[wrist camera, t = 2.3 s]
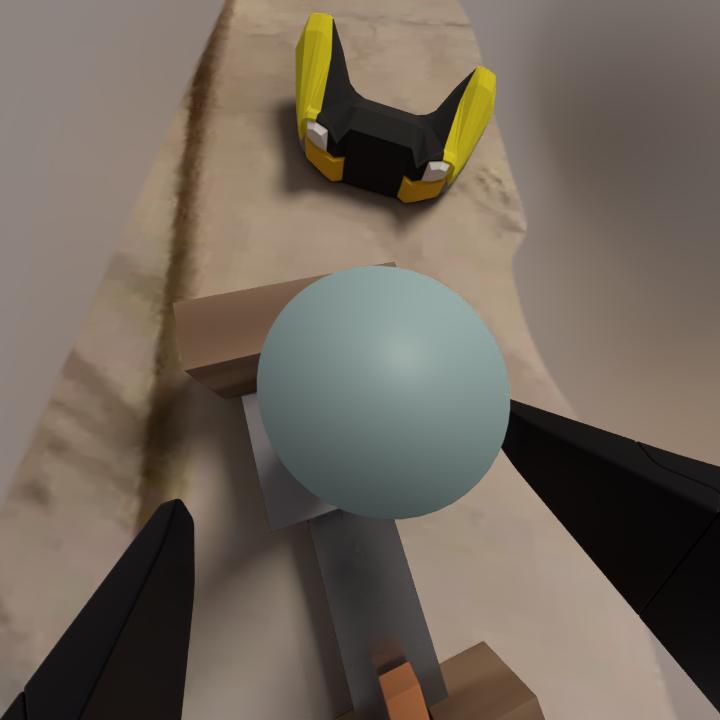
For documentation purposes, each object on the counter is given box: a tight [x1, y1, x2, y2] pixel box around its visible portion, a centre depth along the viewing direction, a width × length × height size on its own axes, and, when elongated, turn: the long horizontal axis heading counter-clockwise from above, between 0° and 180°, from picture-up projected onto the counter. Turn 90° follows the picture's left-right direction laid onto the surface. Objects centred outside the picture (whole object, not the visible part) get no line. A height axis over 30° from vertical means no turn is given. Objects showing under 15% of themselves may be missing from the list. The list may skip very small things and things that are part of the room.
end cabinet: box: [173, 262, 396, 399], centre depth 17 cm, size 3×10×6 cm, turn 108°
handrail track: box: [308, 508, 449, 720], centre depth 16 cm, size 22×4×2 cm, turn 17°
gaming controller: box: [296, 13, 496, 203], centre depth 23 cm, size 15×6×10 cm
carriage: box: [242, 266, 510, 533], centre depth 10 cm, size 6×7×13 cm
